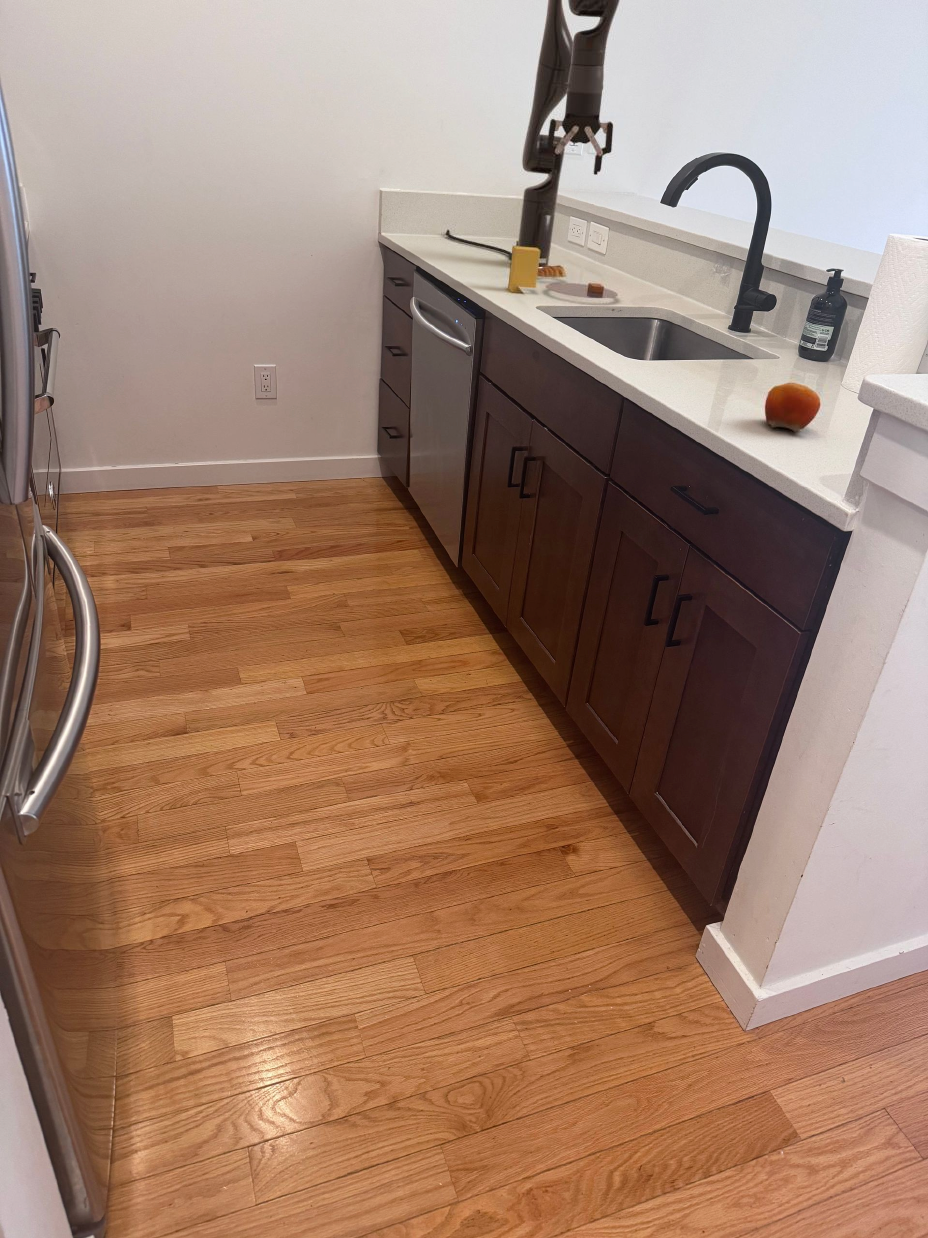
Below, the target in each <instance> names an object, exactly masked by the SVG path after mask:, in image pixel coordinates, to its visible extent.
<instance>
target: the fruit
mask: <svg viewBox="0 0 928 1238" xmlns="http://www.w3.org/2000/svg"><path fill="white" fill-rule="evenodd" d="M820 407H821V398H820V396H819V395H818V394H817V392H816V391H815V390H813V389H812V388H810V387H809V386H807V385H804V384H800V383H797V382H786V383H783V384H780V385H774V387H772V388H771V389H770V390H769V391H768V392H767V396H766V399H765V403H764V415H765V421H766V423H767V424H769V425H770V426H771V429H773V428H786V429H789V430H792V431H793V432H794V433H795V435H796V436H798V431H799V430H804V428H806V427H808V425H810V424H811V422H812V421H813V420H814V419H815V418H816V416H817V415H818V413H819V411H820Z"/></svg>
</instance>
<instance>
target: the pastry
mask: <svg viewBox="0 0 928 1238" xmlns="http://www.w3.org/2000/svg"><path fill="white" fill-rule="evenodd" d="M566 274H567V273H566V271H565V268H564V267H563V266H562V265H561V264H559V265H548V266H544V267H542V268H541V269H538V273H537V277H540V278H567V275H566Z"/></svg>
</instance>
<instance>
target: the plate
mask: <svg viewBox="0 0 928 1238" xmlns="http://www.w3.org/2000/svg"><path fill="white" fill-rule="evenodd" d="M545 288H546V289H548V290H549V291H552V292H555V293H558V294H562V295H567V296H573V297H579V298H588V299H611V298H616V297H618V296H619V295H618V292H616V291H614V290H611V289H609V288H605V287H604V291H603V293H594V292H591V291H589V290H588V284H585V283H575V282H552V283H548V284H546V285H545Z"/></svg>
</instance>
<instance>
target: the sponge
mask: <svg viewBox="0 0 928 1238" xmlns="http://www.w3.org/2000/svg"><path fill="white" fill-rule="evenodd" d="M511 249H512V250H511V253H512V257H511V260H510V265H509V276H508V285H507V289H508V291H510V293H513V294H524V291H522V289H521V288H532V289H536V288H537V280H538V276H537V273H538V265H539V258H540V250H539V249H538V248H535V247H523V246H516V245H512V248H511Z"/></svg>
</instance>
